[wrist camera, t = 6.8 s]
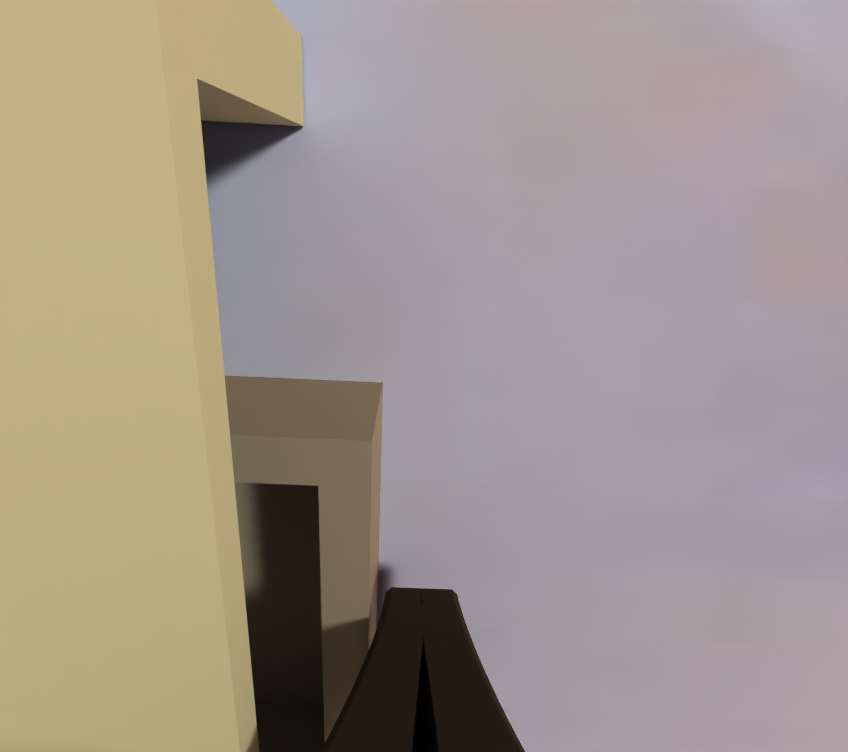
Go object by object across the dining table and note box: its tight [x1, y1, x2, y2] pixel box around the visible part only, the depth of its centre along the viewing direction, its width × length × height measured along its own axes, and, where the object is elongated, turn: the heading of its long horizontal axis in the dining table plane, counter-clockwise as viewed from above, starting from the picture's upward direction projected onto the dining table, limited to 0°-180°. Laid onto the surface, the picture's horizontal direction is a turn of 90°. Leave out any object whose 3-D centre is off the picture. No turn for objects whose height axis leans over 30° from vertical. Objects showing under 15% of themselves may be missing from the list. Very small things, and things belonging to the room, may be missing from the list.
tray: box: [225, 376, 383, 752], centre depth 10 cm, size 9×11×3 cm
